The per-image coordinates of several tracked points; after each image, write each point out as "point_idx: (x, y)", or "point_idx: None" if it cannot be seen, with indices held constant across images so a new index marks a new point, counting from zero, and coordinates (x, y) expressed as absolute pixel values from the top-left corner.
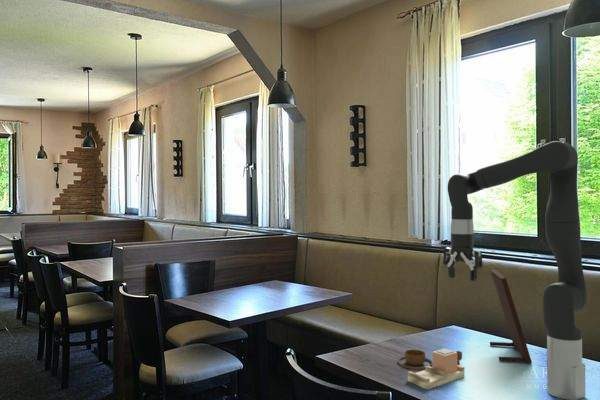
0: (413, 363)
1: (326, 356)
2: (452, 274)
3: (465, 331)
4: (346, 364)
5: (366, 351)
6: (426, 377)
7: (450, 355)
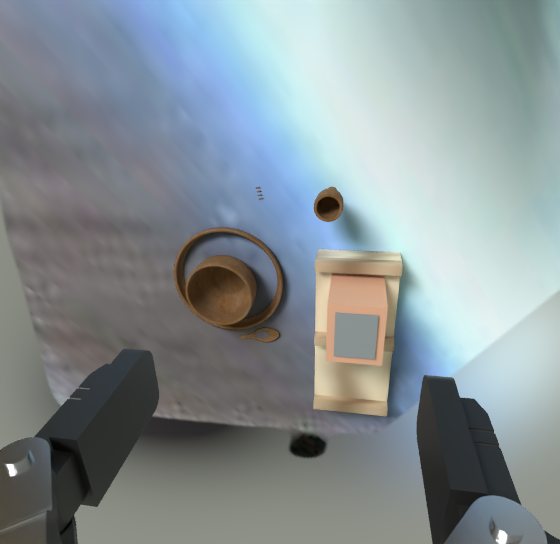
0: (243, 307)
1: (63, 396)
2: (138, 406)
3: None
4: None
5: (66, 297)
6: (356, 380)
7: (383, 339)
